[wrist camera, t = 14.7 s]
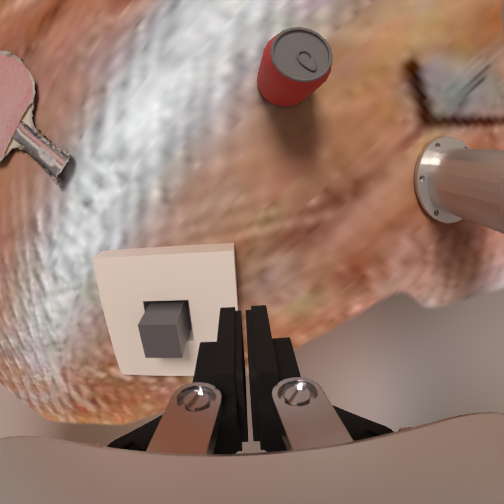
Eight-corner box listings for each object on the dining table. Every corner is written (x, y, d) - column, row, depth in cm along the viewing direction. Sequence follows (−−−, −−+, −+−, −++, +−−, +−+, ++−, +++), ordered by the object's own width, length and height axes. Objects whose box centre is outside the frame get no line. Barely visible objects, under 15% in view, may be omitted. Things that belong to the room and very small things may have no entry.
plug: (186, 294, 42) (176, 324, 34) (190, 324, 43) (182, 358, 36) (153, 296, 42) (137, 324, 34) (159, 325, 43) (145, 357, 35)
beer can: (278, 117, 36) (295, 100, 25) (245, 76, 35) (248, 44, 23) (320, 89, 35) (352, 65, 24) (288, 49, 34) (307, 11, 22)
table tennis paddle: (13, 32, 29) (3, 28, 27) (84, 162, 37) (74, 163, 34) (-46, 107, 32) (-56, 107, 29) (14, 236, 39) (3, 241, 36)
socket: (234, 242, 41) (233, 250, 37) (242, 360, 46) (242, 374, 42) (102, 250, 40) (92, 258, 37) (127, 360, 45) (121, 374, 42)
